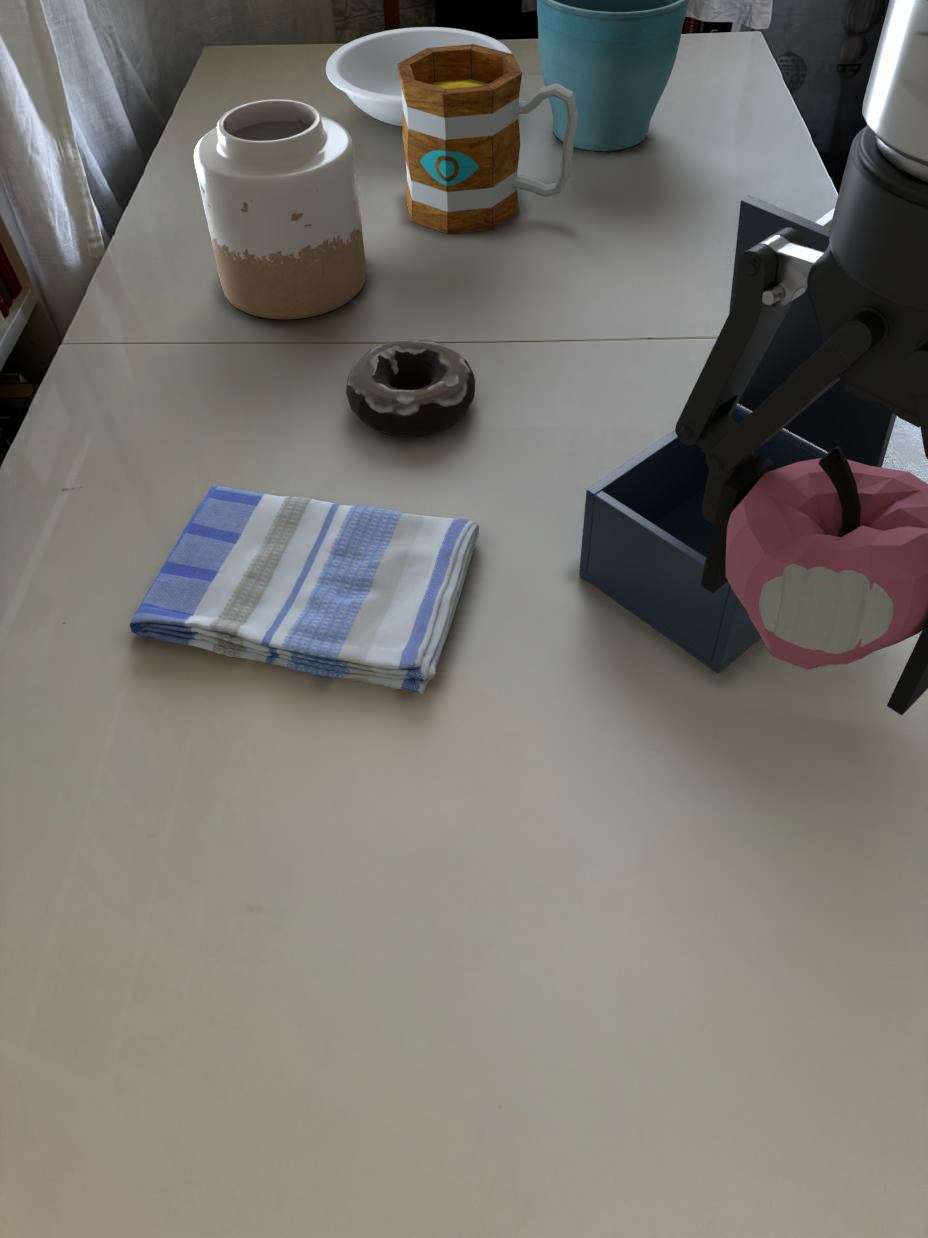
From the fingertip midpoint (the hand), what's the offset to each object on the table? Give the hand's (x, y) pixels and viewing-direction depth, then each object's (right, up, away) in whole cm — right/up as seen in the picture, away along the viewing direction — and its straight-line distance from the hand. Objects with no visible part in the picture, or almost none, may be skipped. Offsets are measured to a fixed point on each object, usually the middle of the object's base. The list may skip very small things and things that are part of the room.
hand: (812, 631), depth 48 cm
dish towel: (-28, +3, +32) cm, 43 cm away
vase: (-34, +36, +62) cm, 80 cm away
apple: (0, -1, +1) cm, 1 cm away
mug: (-13, +48, +72) cm, 87 cm away
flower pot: (+2, +62, +84) cm, 105 cm away
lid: (+7, +19, +22) cm, 30 cm away
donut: (-21, +20, +48) cm, 56 cm away
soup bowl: (-21, +67, +89) cm, 114 cm away
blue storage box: (+3, +4, +33) cm, 33 cm away
